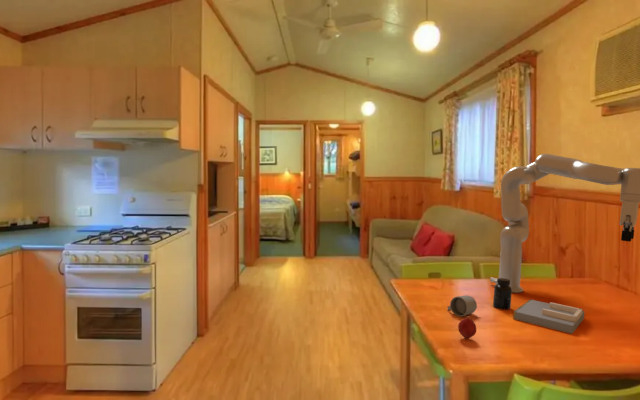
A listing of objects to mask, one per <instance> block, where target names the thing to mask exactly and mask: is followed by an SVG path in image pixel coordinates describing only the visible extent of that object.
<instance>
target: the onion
mask: <svg viewBox="0 0 640 400" xmlns="http://www.w3.org/2000/svg"><path fill="white" fill-rule="evenodd" d="M457 329H458V332H459V334H460V335H461V336H462V337H463V338H464V339H465V340H468V339H471V338H473V336H475V335H476V333H477V325H476V323H475V322H474V321H473V319H471V317H470V315H469V316H468V315H466V316H465V318H462V319H461V321H460V322H459V323H458V326H457Z"/></svg>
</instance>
